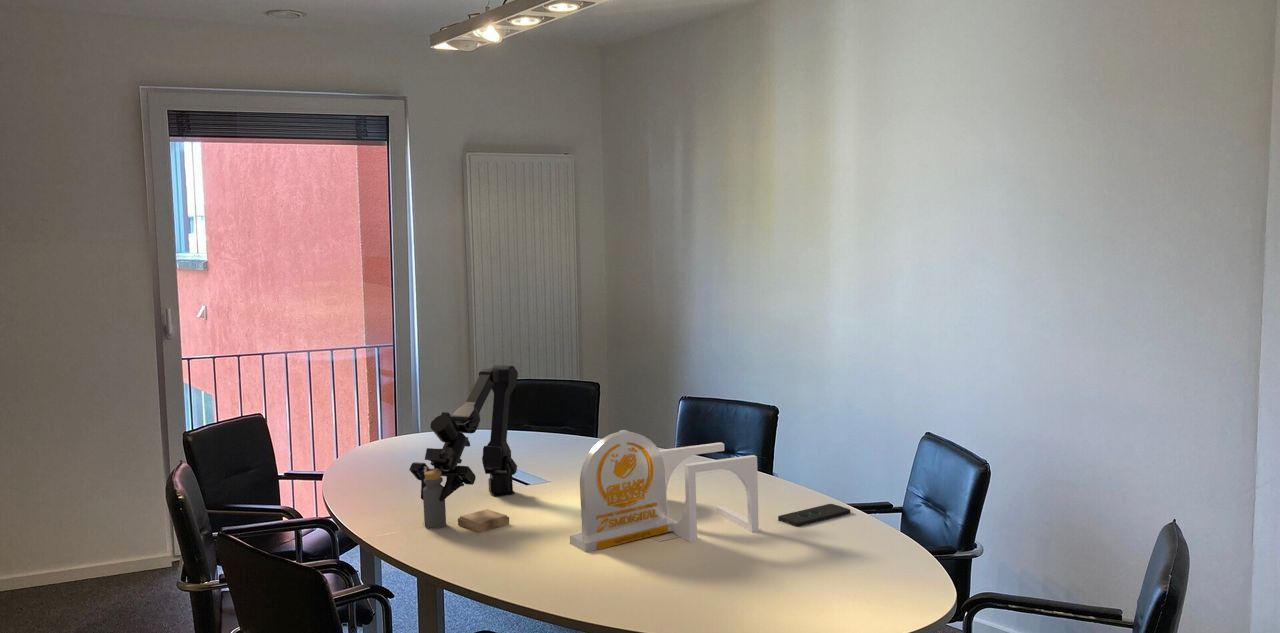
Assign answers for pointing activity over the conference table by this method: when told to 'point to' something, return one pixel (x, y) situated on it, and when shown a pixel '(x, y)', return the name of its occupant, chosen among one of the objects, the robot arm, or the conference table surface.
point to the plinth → (483, 520)
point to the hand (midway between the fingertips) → (431, 499)
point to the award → (622, 492)
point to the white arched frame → (738, 465)
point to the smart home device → (813, 515)
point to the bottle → (433, 500)
